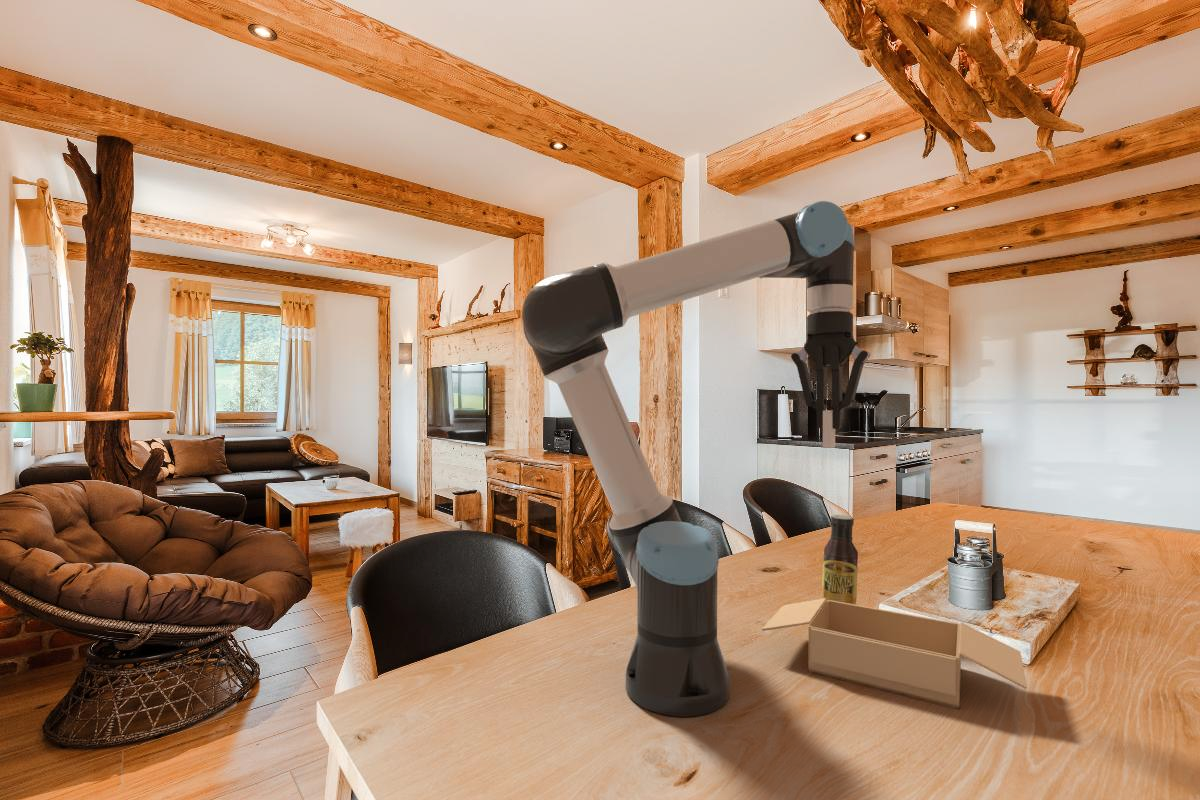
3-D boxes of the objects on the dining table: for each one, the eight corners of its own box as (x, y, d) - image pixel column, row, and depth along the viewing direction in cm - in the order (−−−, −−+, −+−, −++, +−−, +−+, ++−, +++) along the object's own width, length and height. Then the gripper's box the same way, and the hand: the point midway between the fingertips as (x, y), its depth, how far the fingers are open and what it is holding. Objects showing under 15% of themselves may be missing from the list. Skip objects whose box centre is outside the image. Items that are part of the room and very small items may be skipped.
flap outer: (959, 654, 80) (1026, 689, 76) (959, 652, 80) (1027, 687, 76) (960, 623, 90) (1019, 653, 86) (961, 622, 90) (1020, 651, 86)
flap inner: (809, 621, 91) (761, 629, 95) (809, 623, 90) (762, 630, 95) (826, 598, 101) (782, 605, 105) (826, 599, 101) (783, 606, 105)
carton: (959, 710, 79) (959, 659, 79) (807, 672, 90) (807, 627, 90) (960, 667, 91) (960, 623, 91) (827, 638, 102) (827, 599, 102)
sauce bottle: (819, 621, 110) (819, 517, 110) (823, 610, 115) (823, 511, 115) (856, 628, 107) (856, 521, 107) (858, 616, 112) (859, 514, 112)
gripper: (874, 312, 100) (873, 447, 100) (797, 317, 107) (797, 444, 108) (866, 306, 94) (865, 451, 94) (785, 313, 101) (785, 447, 101)
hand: (828, 447), depth 101 cm, fingers closed
